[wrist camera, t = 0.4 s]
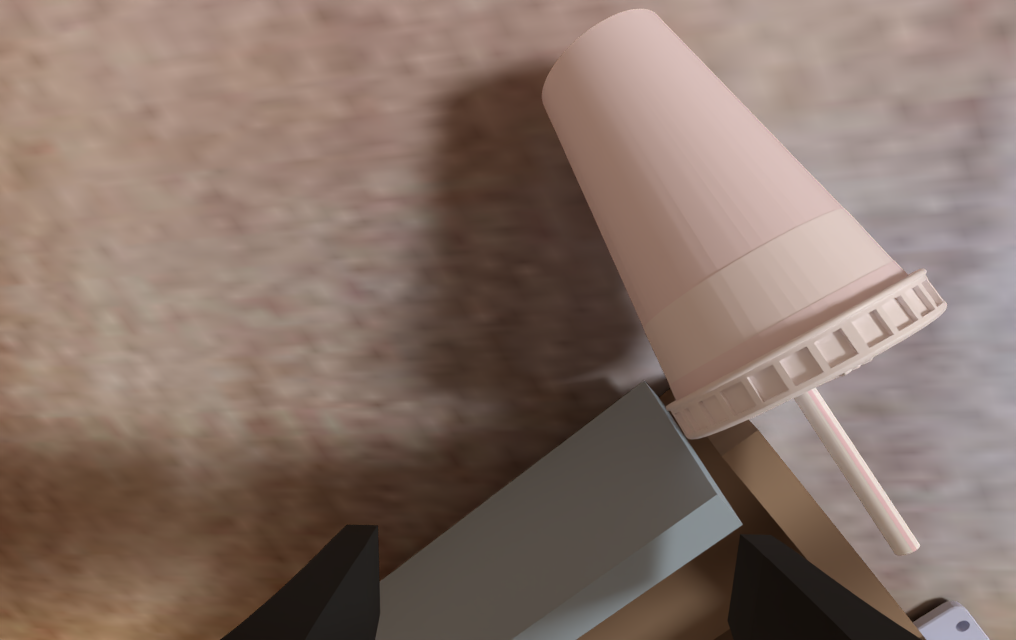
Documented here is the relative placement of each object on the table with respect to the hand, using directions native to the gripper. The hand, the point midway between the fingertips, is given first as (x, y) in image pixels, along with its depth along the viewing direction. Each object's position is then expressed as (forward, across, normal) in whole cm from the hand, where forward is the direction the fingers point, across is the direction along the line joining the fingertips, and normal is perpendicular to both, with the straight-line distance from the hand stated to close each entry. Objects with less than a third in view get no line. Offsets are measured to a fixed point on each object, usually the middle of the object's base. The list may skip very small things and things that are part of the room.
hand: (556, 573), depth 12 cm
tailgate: (+9, +1, +5) cm, 10 cm away
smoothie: (+8, -1, -11) cm, 13 cm away
